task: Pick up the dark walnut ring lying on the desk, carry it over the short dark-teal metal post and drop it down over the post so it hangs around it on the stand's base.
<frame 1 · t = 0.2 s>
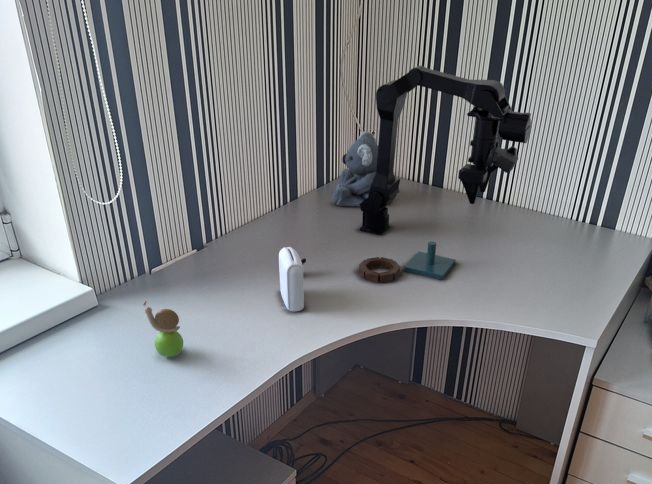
hand: (477, 197, 175), 15 cm above the table, tool pointing down, fingers open, 9 cm apart
wireless earbuds: (296, 277, 167), on the table
white toy toaster: (292, 301, 156), on the table
post stand: (430, 267, 173), on the table
ring: (379, 273, 169), on the table
snail figurine: (168, 355, 137), on the table
koala plush: (364, 199, 211), on the table
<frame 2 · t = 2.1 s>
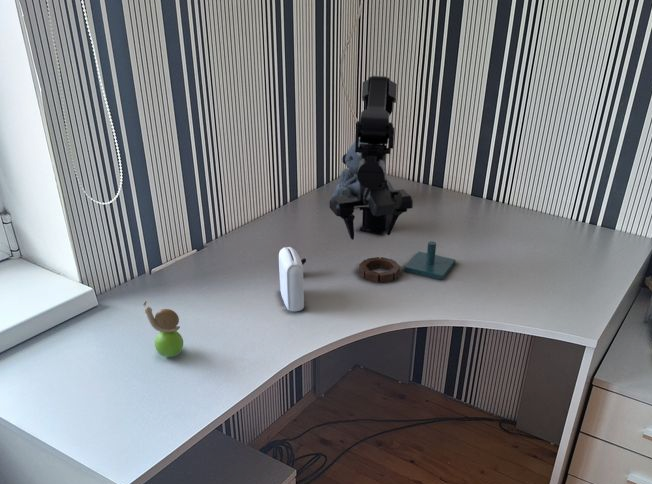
hand: (370, 236, 163), 10 cm above the table, tool pointing down, fingers open, 9 cm apart
nothing on the table moved.
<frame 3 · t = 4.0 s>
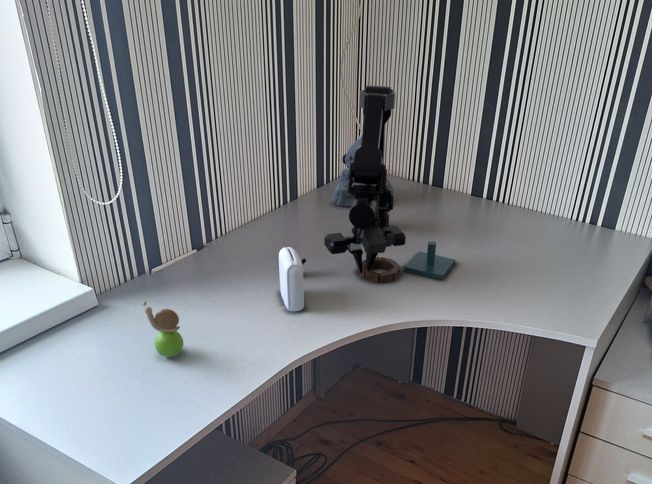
hand: (364, 271, 168), 1 cm above the table, tool pointing down, fingers closed on ring, 2 cm apart
ring: (379, 273, 169), on the table, touching gripper
everything else where it was.
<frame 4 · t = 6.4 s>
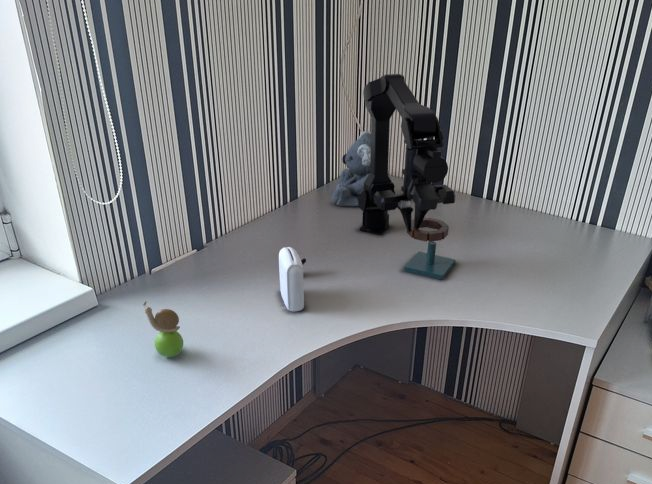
hand: (412, 230, 166), 11 cm above the table, tool pointing down, fingers closed on ring
ring: (427, 233, 168), point 10 cm above the table, touching gripper
everything else where it was.
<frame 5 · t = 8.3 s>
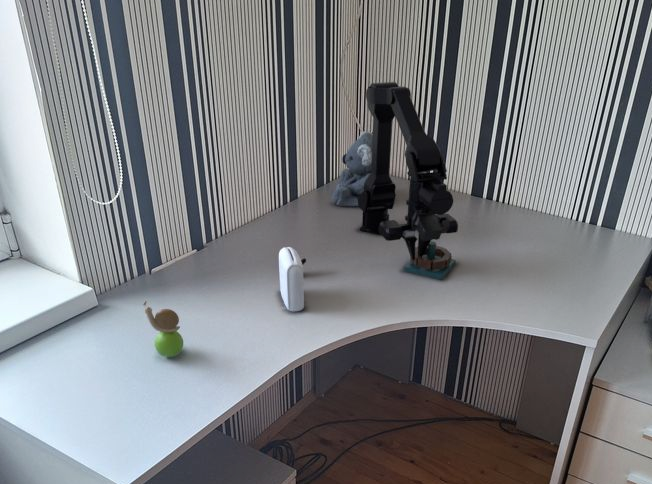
hand: (416, 258, 170), 3 cm above the table, tool pointing down, fingers closed on ring, 2 cm apart
ring: (430, 260, 172), point 2 cm above the table, touching gripper
everything else where it was.
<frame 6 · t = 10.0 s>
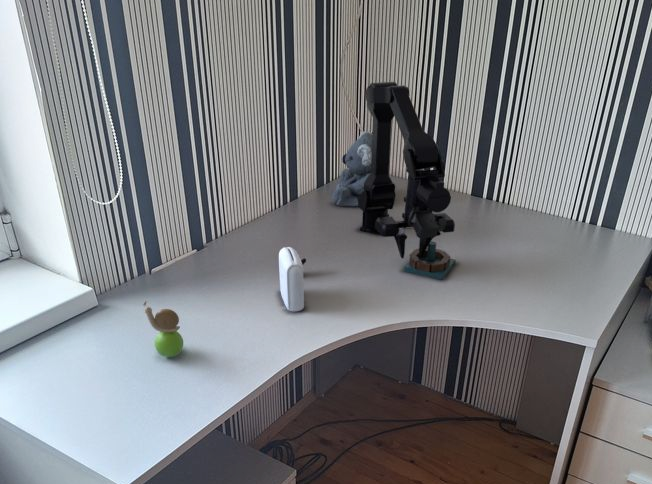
hand: (411, 257, 170), 4 cm above the table, tool pointing down, fingers open, 5 cm apart
ring: (429, 263, 172), point 1 cm above the table, touching post stand
everything else where it was.
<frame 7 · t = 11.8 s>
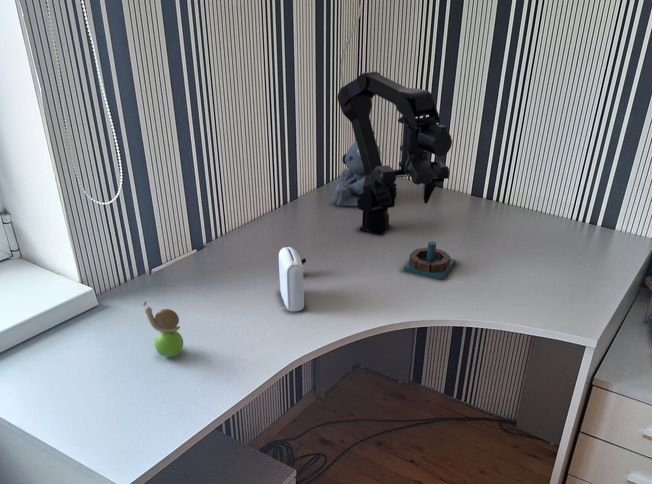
hand: (409, 204, 177), 12 cm above the table, tool pointing down, fingers open, 9 cm apart
nothing on the table moved.
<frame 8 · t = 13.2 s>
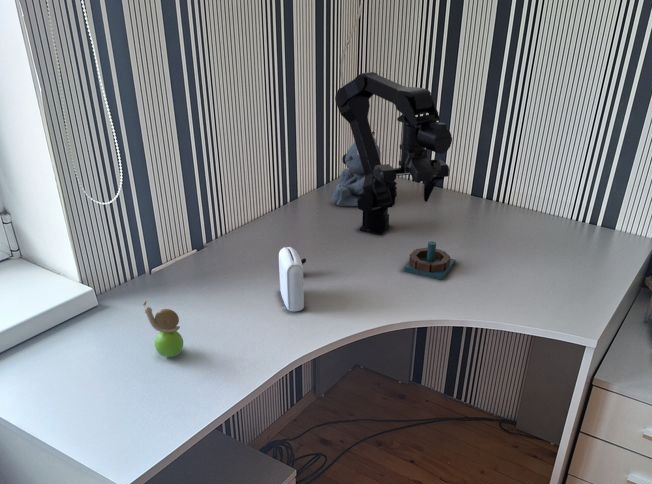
hand: (409, 203, 177), 12 cm above the table, tool pointing down, fingers open, 9 cm apart
nothing on the table moved.
at the end: ring 0.3 cm from the post stand (horizontally); ring point 1.2 cm above the table; the gripper is holding nothing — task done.
